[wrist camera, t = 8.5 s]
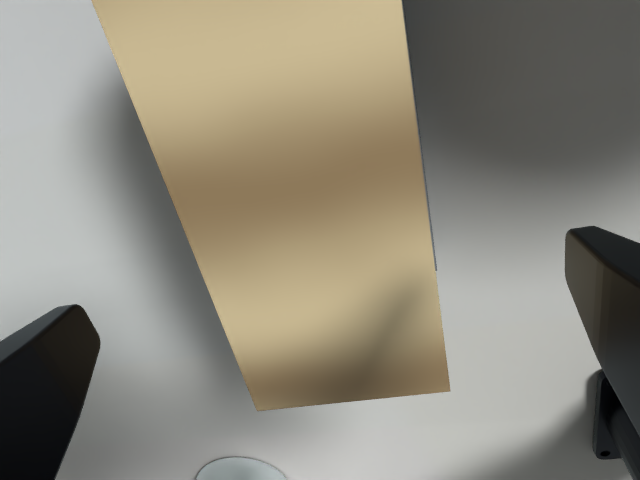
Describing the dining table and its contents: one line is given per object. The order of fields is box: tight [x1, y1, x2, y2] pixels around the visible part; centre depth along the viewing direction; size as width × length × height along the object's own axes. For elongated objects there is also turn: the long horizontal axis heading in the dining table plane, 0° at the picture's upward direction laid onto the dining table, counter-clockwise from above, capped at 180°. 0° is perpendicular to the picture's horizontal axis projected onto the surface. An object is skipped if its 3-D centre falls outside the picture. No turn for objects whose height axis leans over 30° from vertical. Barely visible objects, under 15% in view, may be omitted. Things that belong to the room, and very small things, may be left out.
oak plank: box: [92, 0, 450, 411], centre depth 13 cm, size 14×6×3 cm, turn 12°
